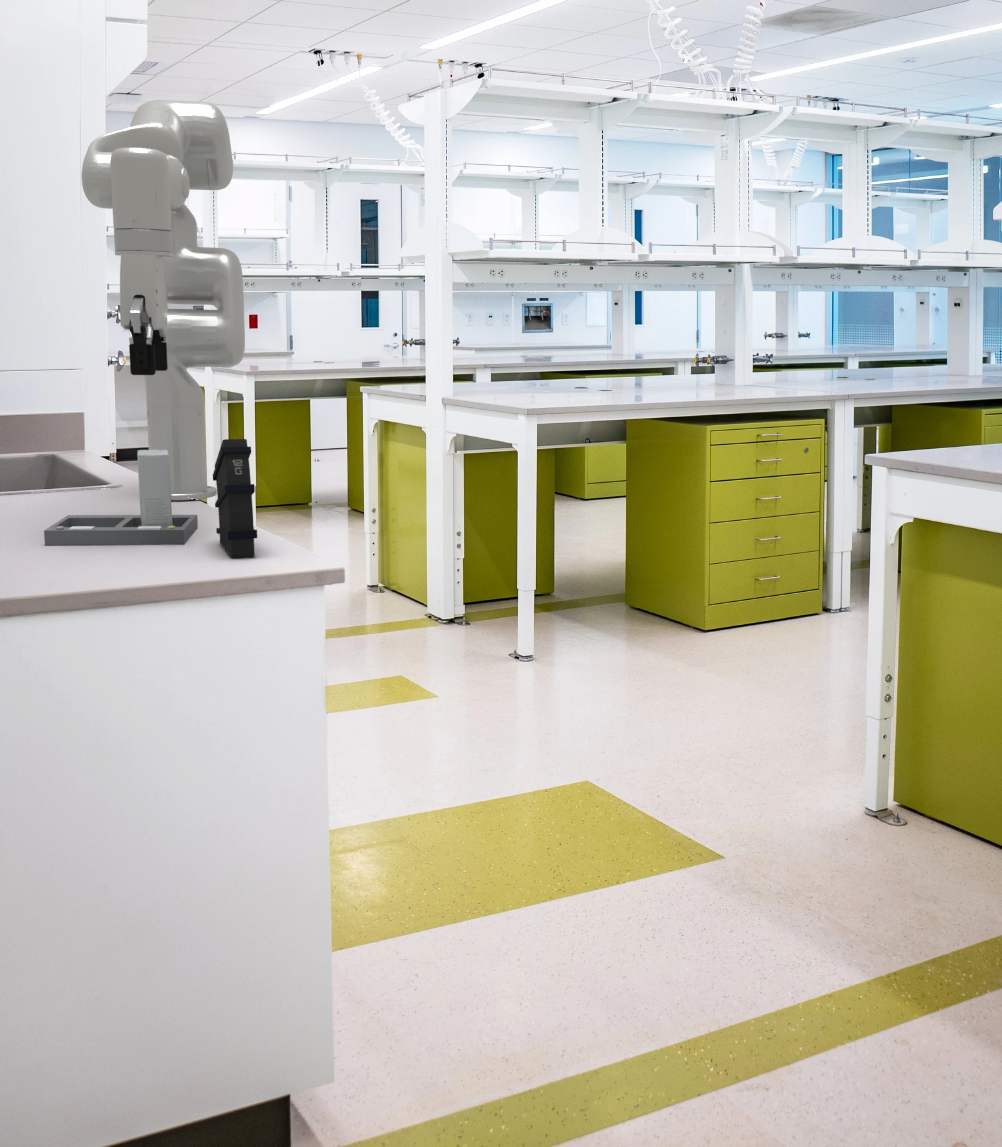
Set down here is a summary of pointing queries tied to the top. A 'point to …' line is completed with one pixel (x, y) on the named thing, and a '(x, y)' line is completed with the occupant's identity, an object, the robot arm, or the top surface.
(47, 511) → the top surface
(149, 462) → the skincare box
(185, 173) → the robot arm
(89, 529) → the socket panel
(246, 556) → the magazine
